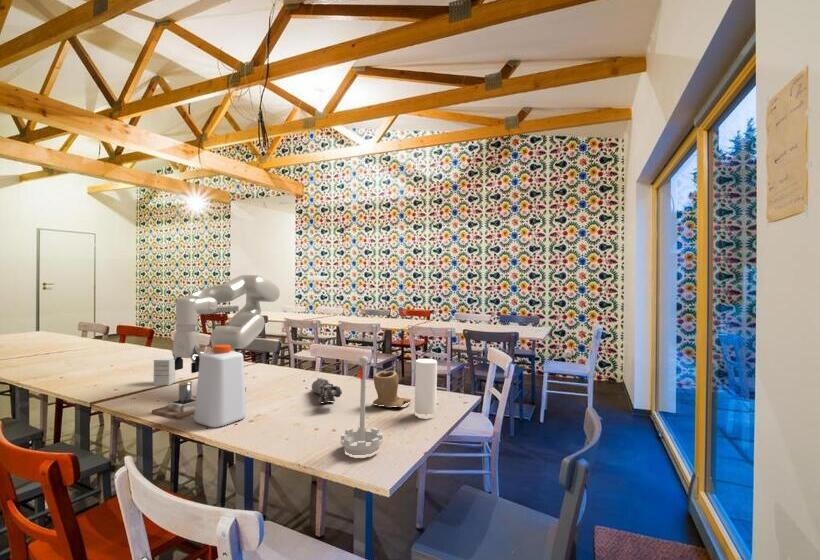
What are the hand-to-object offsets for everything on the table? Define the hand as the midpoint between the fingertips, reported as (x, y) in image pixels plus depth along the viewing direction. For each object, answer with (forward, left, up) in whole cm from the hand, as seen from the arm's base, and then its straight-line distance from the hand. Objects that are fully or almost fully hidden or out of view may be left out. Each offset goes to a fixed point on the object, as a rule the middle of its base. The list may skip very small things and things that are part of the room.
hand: (187, 370), depth 160 cm
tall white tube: (-90, +35, -16) cm, 98 cm away
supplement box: (+16, -46, -16) cm, 52 cm away
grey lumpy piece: (-55, +2, -16) cm, 57 cm away
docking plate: (0, 0, -16) cm, 16 cm away
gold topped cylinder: (0, 0, -15) cm, 15 cm away
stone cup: (-80, +20, -16) cm, 83 cm away
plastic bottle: (-14, +16, -16) cm, 26 cm away
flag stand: (-58, +58, -16) cm, 84 cm away
